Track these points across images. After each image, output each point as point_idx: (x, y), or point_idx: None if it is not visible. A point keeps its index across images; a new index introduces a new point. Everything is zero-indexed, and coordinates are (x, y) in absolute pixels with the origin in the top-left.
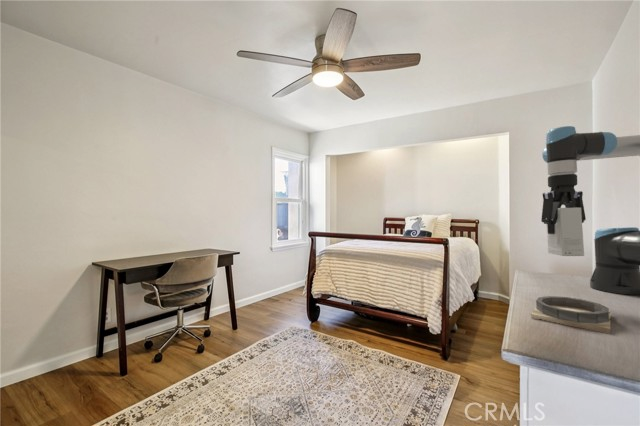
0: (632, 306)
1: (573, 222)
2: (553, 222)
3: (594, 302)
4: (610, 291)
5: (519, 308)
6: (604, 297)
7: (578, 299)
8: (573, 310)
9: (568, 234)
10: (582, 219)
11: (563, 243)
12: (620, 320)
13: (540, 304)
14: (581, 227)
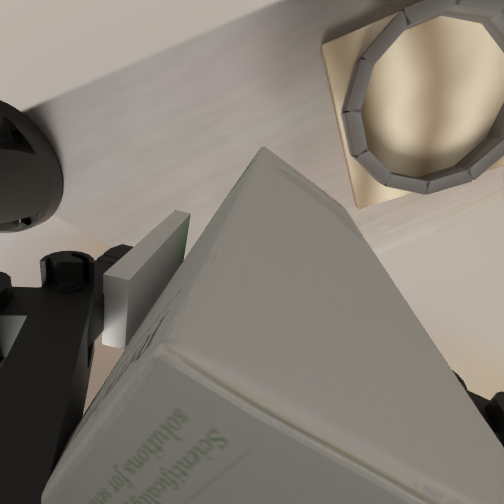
0: (156, 59)
1: (328, 253)
2: (460, 378)
3: (358, 70)
4: (56, 161)
5: (441, 217)
6: (126, 148)
7: (356, 117)
8: (393, 112)
9: (346, 231)
10: (9, 289)
11: (357, 228)
12: (344, 10)
13: (499, 157)
14: (255, 186)
